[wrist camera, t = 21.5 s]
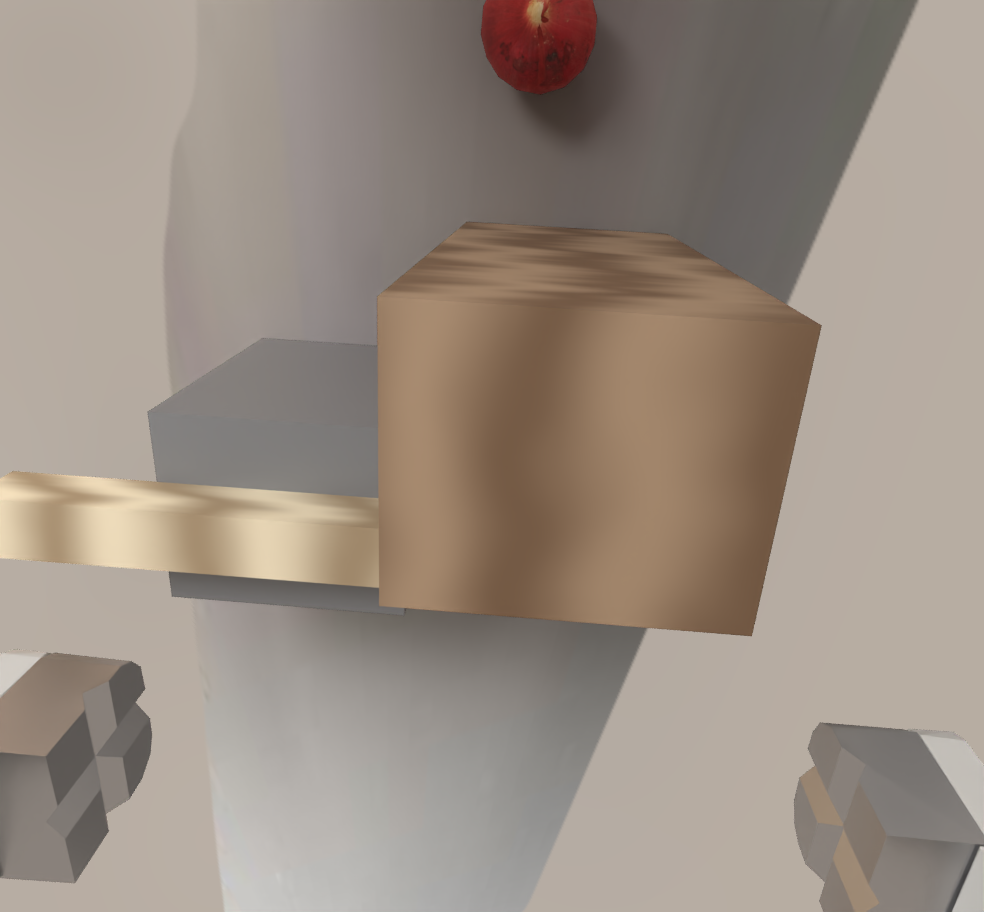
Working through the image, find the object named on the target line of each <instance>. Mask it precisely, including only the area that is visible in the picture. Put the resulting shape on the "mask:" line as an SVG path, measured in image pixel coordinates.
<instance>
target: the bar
mask: <svg viewBox="0 0 984 912" xmlns="http://www.w3.org/2000/svg"><path fill="white" fill-rule="evenodd" d="M0 558H7V559H20V560H33V561H46V562H58V563H71V564H83V565H84V564H85V565H96V566H108V567H121V568H134V569H148V570H160V571H172V572H185V573H197V574H210V575H223V576H236V577H248V578H261V579H274V580H287V581H299V582H312V583H325V584H337V585H350V586H363V587H376V588H379V500H378V498H369V497H356V496H342V495H328V494H315V493H301V492H288V491H274V490H261V489H247V488H234V487H220V486H206V485H193V484H179V483H166V482H152V481H139V480H125V479H112V478H98V477H84V476H70V475H57V474H43V473H30V472H17V471H12V472H11V473H9V474H7V475H5V476H4V477H2V478H0Z"/></svg>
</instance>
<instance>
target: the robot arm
mask: <svg viewBox="0 0 984 912" xmlns="http://www.w3.org/2000/svg"><path fill="white" fill-rule="evenodd" d="M144 690H145V686H144V681H143V676H142V671H141V667H140V666H138V665H137V664H135V663H133V662H132V661H124V660H115V659H106V658H97V657H89V656H80V655H71V654H62V653H46V652H38V651H28V650H20V649H19V650H18V649H13V650H10V651H7V652H4V653H1V654H0V878H7V879H22V880H37V881H51V882H65V883H75V882H76V881H77V879H78V878H79V876H80V875H81V873H82V872H83V870H84V869H85V867H86V865H87V864H88V862H89V861H90V859H91V858H92V856H93V855H94V853H95V852H96V850H97V848H98V847H99V845H100V844H101V842H102V841H103V839H104V838H105V836H106V835H107V833H108V831H109V830H108V823H107V816H106V814H107V813H108V812H110V811H111V810H113V809H114V808H116V807H118V806H119V805H121V804H122V803H124V802H126V801H127V800H129V799H130V797H131V796H132V794H133V792H134V791H135V789H136V788H137V786H138V784H139V783H140V781H141V779H142V777H143V774H144V771H145V768H146V765H147V762H148V759H149V756H150V752H151V740H152V731H151V723H150V718H149V717H148V716H147V715H146V713H145V712H144V711H143V710H142V709H141V708H140V707H139V706H138V705H137V704H136V703H135V702H136V701H137V699H138V698H139V697H140V695H141V694H142V693H143V691H144ZM808 750H809V752H810V755H811V757H812V759H813V761H814V764H815V766H814V767H813V768H811V769H810V770H809V771H807V772H806V773H805V774H804V775H803V776H801V777H800V778H799V782H798V786H797V790H796V794H795V799H794V819H795V820H794V823H795V829H796V834H797V839H798V844H799V847H800V849H801V852H802V855H803V858H804V861H805V864H806V865H807V866H809V868H810V869H812V870H813V871H814V872H815V873H816V874H817V875H818V876H819V877H820V878H821V879H822V880H823V881H824V882H825V884H824V888H823V891H822V894H821V897H820V900H819V901H820V904H821V907H822V909H823V912H984V765H983V764H982V762H981V761H980V760H979V758H978V757H977V755H976V754H975V753H974V751H973V750H972V749H971V747H970V746H969V745H968V743H967V742H966V741H965V740H964V739H963V738H962V737H960V736H959V735H957V734H956V733H954V732H947V731H932V730H918V729H908V730H903V729H892V728H880V727H868V726H856V725H843V724H831V723H819V725H818V726H817V727H816V729H815V730H814V731H813V733H812V737H811V740H810V743H809V747H808Z"/></svg>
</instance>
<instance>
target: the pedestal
mask: <svg viewBox="0 0 984 912" xmlns="http://www.w3.org/2000/svg"><path fill="white" fill-rule="evenodd" d="M820 330H821V325H820V324H818V323H816V322H815V321H813V320H812V319H810V318H808V317H807V316H805V315H803V314H801V313H800V312H798V311H796V310H795V309H793V308H791V307H790V306H788V305H786V304H785V303H783V302H781V301H780V300H778V299H776V298H775V297H773V296H771V295H769V294H768V293H766V292H764V291H763V290H761V289H759V288H758V287H756V286H754V285H753V284H751V283H749V282H748V281H746V280H744V279H742V278H741V277H739V276H737V275H736V274H734V273H732V272H731V271H729V270H727V269H726V268H724V267H722V266H721V265H719V264H717V263H716V262H714V261H712V260H710V259H709V258H707V257H705V256H704V255H702V254H700V253H699V252H697V251H695V250H694V249H692V248H690V247H689V246H687V245H685V244H684V243H682V242H680V241H678V240H677V239H675V238H673V237H672V236H670V235H668V234H660V233H643V232H627V231H610V230H594V229H577V228H561V227H544V226H528V225H511V224H495V223H478V222H466V223H465V224H464V225H463V226H461V227H460V228H459V229H458V230H457V231H455V232H454V233H453V234H452V235H451V236H449V237H448V238H447V239H446V240H445V241H443V242H442V243H441V244H440V245H439V246H437V247H436V248H435V249H434V250H433V251H431V252H430V253H429V254H428V255H427V256H425V257H424V258H423V259H422V260H421V261H419V262H418V263H417V264H416V265H415V266H413V267H412V268H411V269H410V270H409V271H407V272H406V273H405V274H404V275H403V276H401V277H400V278H399V279H398V280H397V281H395V282H394V283H393V284H392V285H391V286H389V287H388V288H387V289H386V290H385V291H383V292H382V293H381V294H380V295H379V296H377V346H378V500H379V606H386V607H398V608H411V609H423V610H435V611H448V612H460V613H472V614H484V615H497V616H509V617H521V618H534V619H546V620H558V621H571V622H583V623H595V624H608V625H620V626H632V627H644V628H657V629H670V630H681V631H694V632H707V633H718V634H731V635H744V636H752V633H753V628H754V624H755V619H756V615H757V611H758V606H759V602H760V597H761V593H762V588H763V584H764V579H765V575H766V571H767V566H768V562H769V557H770V553H771V548H772V544H773V539H774V535H775V530H776V526H777V522H778V517H779V513H780V508H781V504H782V499H783V495H784V490H785V486H786V481H787V477H788V473H789V468H790V464H791V459H792V455H793V450H794V446H795V441H796V437H797V432H798V428H799V424H800V419H801V415H802V410H803V406H804V401H805V397H806V393H807V388H808V384H809V379H810V375H811V370H812V366H813V361H814V357H815V352H816V348H817V343H818V339H819V335H820Z"/></svg>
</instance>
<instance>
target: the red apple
mask: <svg viewBox="0 0 984 912" xmlns="http://www.w3.org/2000/svg"><path fill="white" fill-rule="evenodd" d="M596 23H597V15H596V12H595V8H594V4H593V0H486V2H485V4H484V6H483V16H482V28H481V37H482V41H483V45H484V49H485V53H486V57H487V59H488V60H489V62H490V64H491V65H492V67H493V69H494V70H495V72H496V73H497V75H498V77H500V78H501V79H502V80H504V81H505V82H507V83H508V84H510V85H511V86H512V87H514V88H515V89H517V90H520V91H525V92H530V93H535V94H544V93H547V92H550V91H553V90H557V89H560V88H563V87H565V86H566V85H567V84H568V83H569V82H570V81H572V80H573V79H574V78H575V77H576V76H577V75H578V74H579V73H580V72H581V71H582V70H583V69H584V67H585V65H586V63H587V60H588V58H589V56H590V54H591V51H592V49H593V47H594V43H595V33H596Z"/></svg>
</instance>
